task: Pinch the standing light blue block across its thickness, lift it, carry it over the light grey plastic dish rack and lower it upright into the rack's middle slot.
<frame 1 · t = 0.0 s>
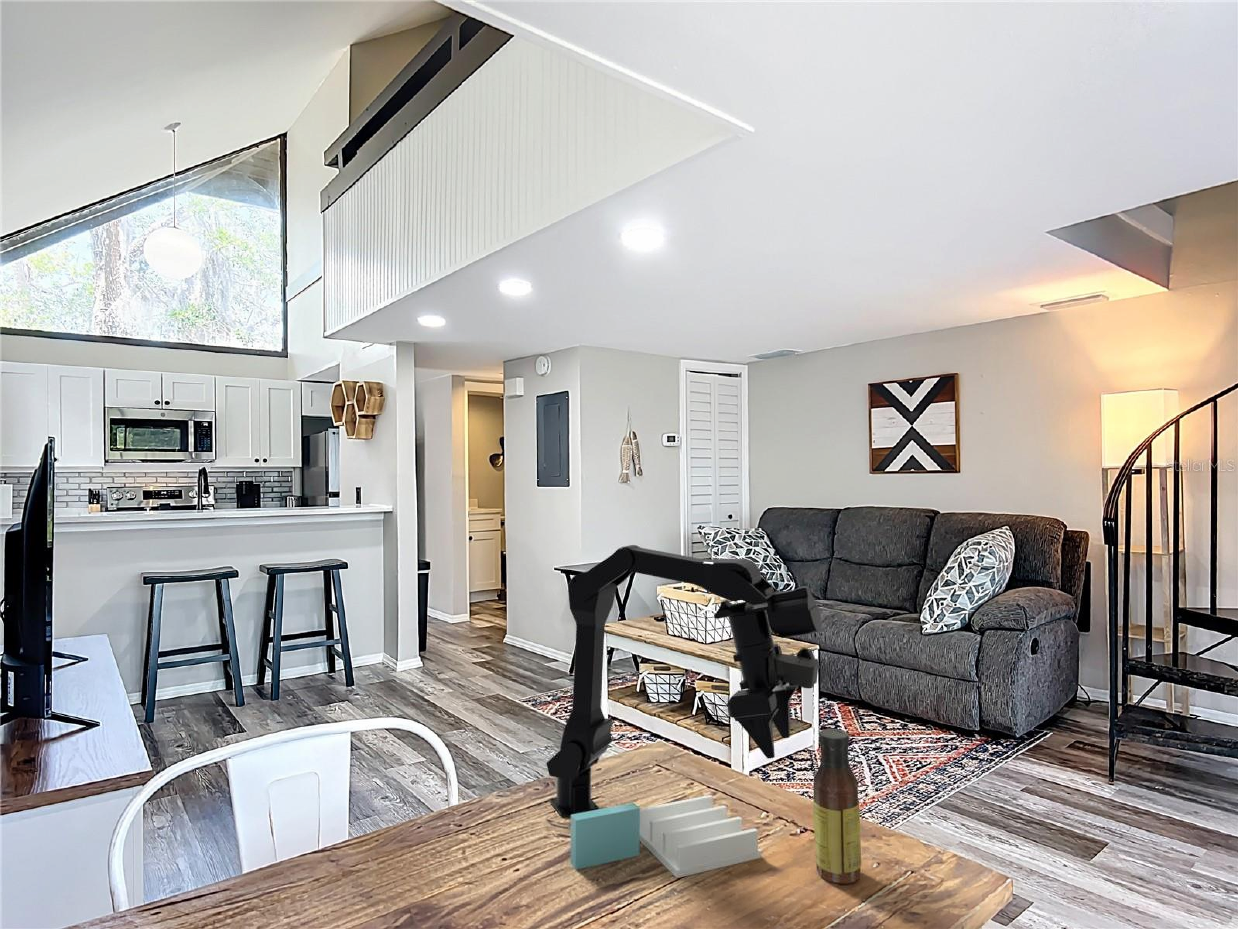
hand: (778, 747, 114), 15 cm above the table, tool pointing down, fingers open, 9 cm apart
light blue block: (605, 859, 112), on the table
dish rack: (696, 846, 116), on the table
sauce bottle: (836, 876, 108), on the table
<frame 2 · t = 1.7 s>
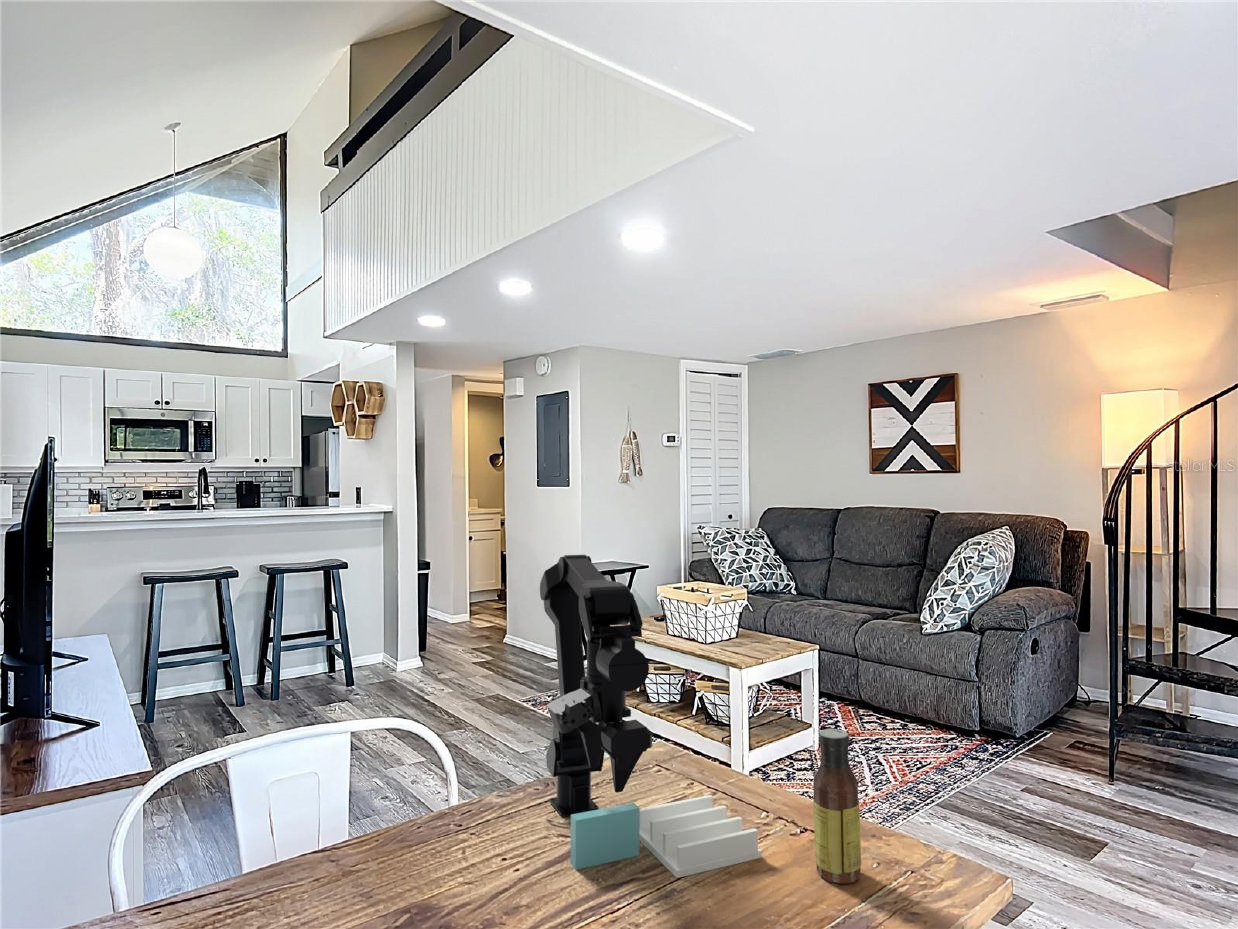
hand: (605, 779, 112), 11 cm above the table, tool pointing down, fingers open, 9 cm apart
nothing on the table moved.
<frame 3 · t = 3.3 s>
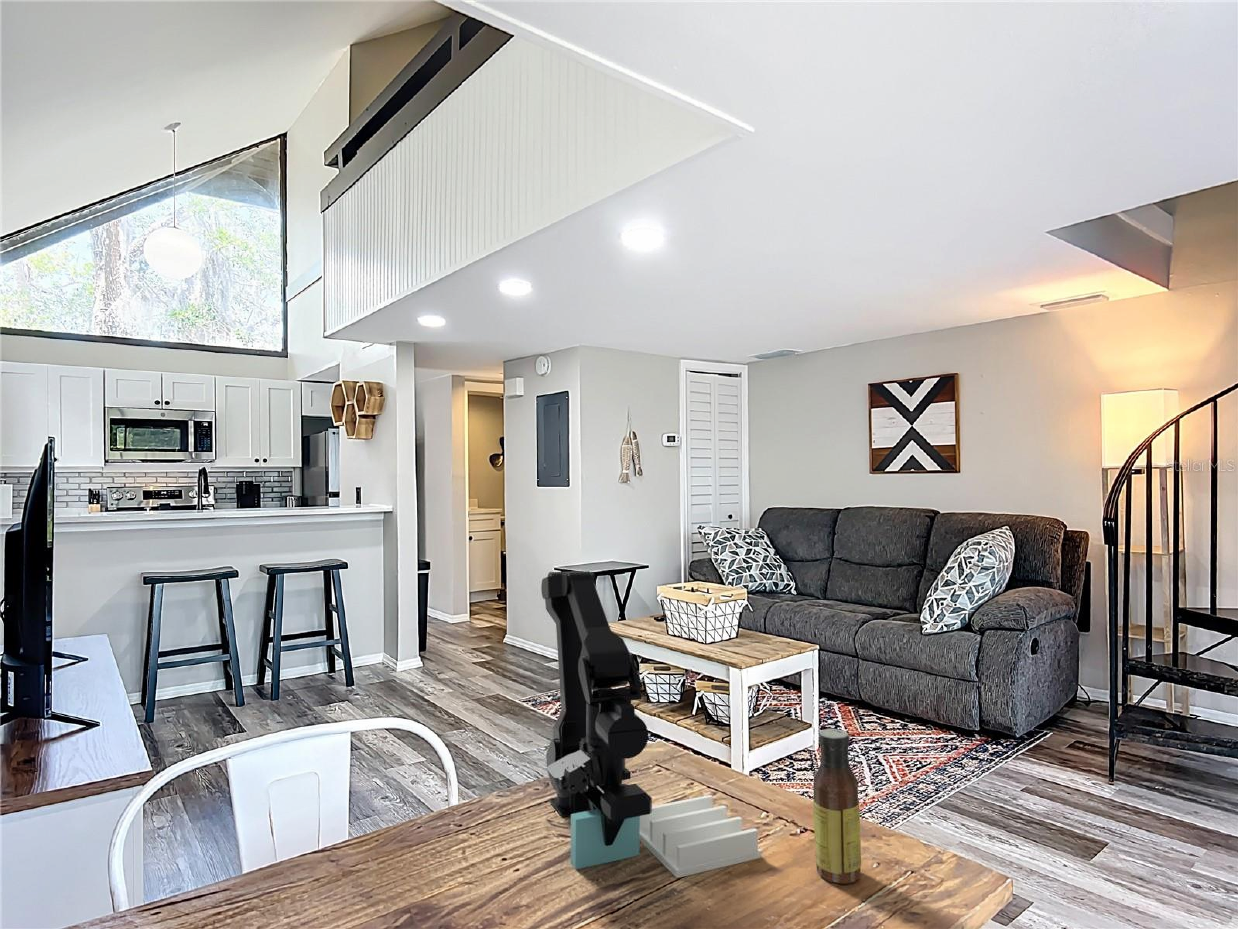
hand: (605, 841, 112), 3 cm above the table, tool pointing down, fingers closed on light blue block, 2 cm apart
light blue block: (605, 859, 112), on the table, touching gripper
everything else where it was.
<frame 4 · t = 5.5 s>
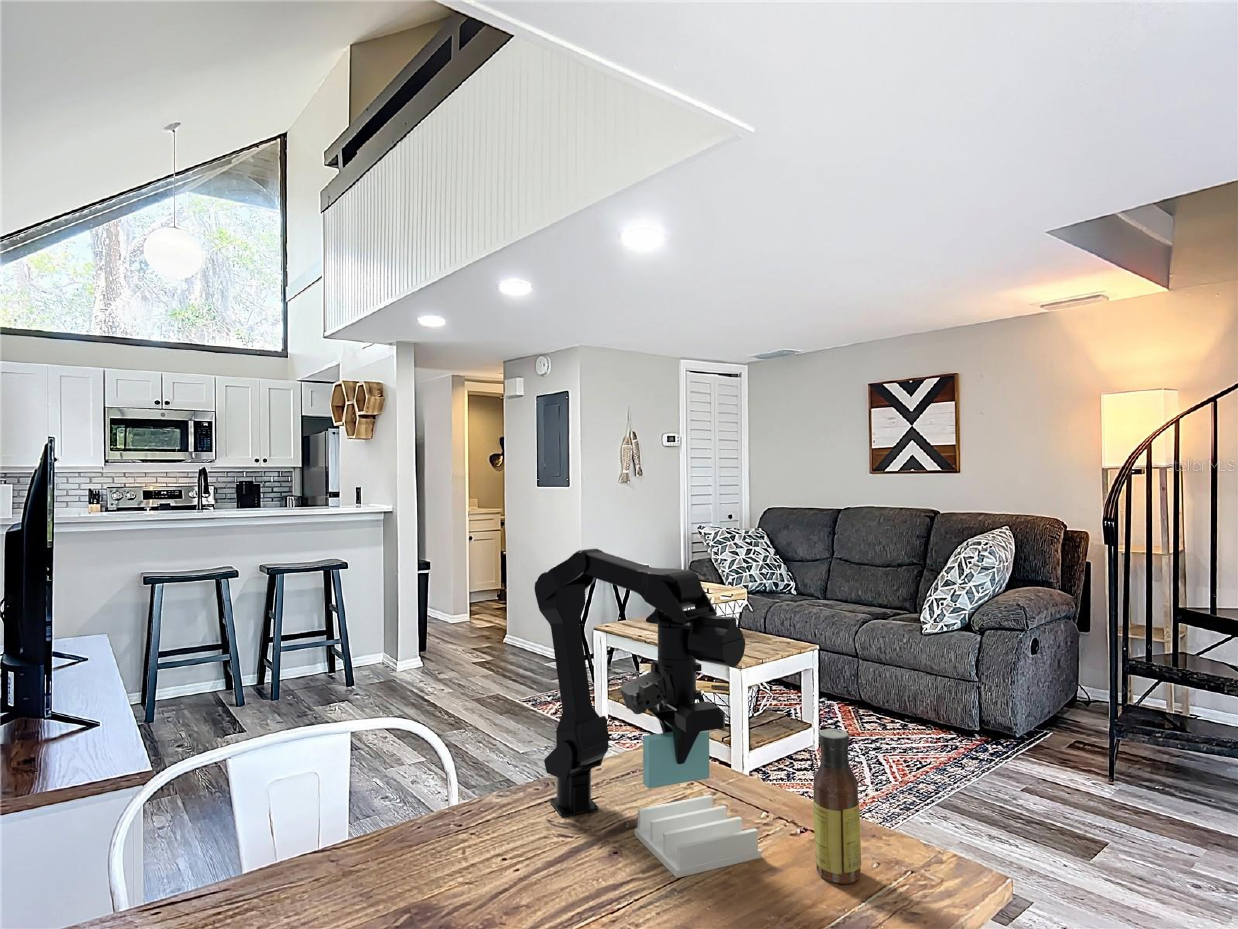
hand: (677, 761, 114), 13 cm above the table, tool pointing down, fingers closed on light blue block
light blue block: (676, 781, 114), point 10 cm above the table, touching gripper
everything else where it was.
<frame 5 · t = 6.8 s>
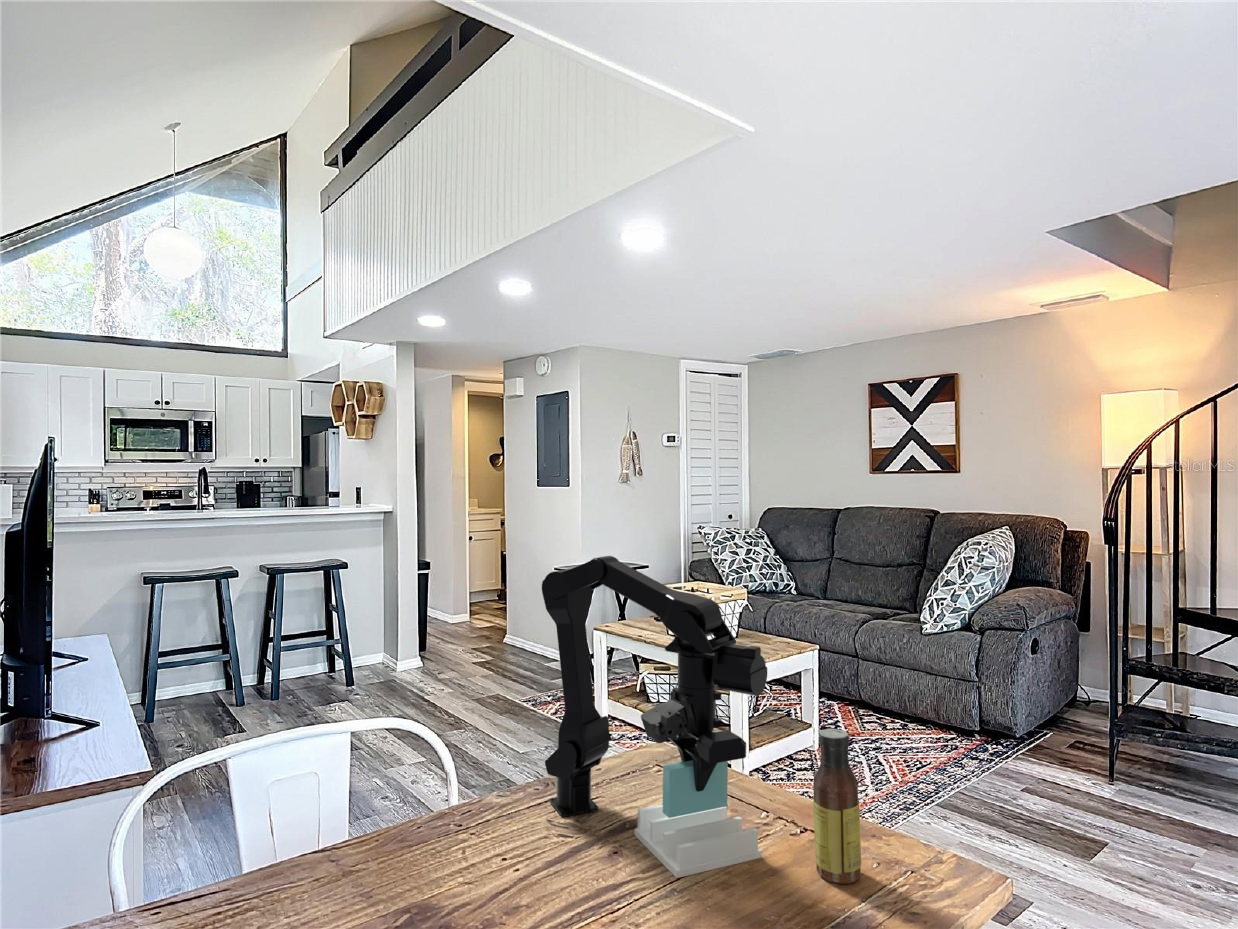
hand: (695, 787, 116), 9 cm above the table, tool pointing down, fingers closed on light blue block
light blue block: (695, 809, 116), point 6 cm above the table, touching gripper
everything else where it was.
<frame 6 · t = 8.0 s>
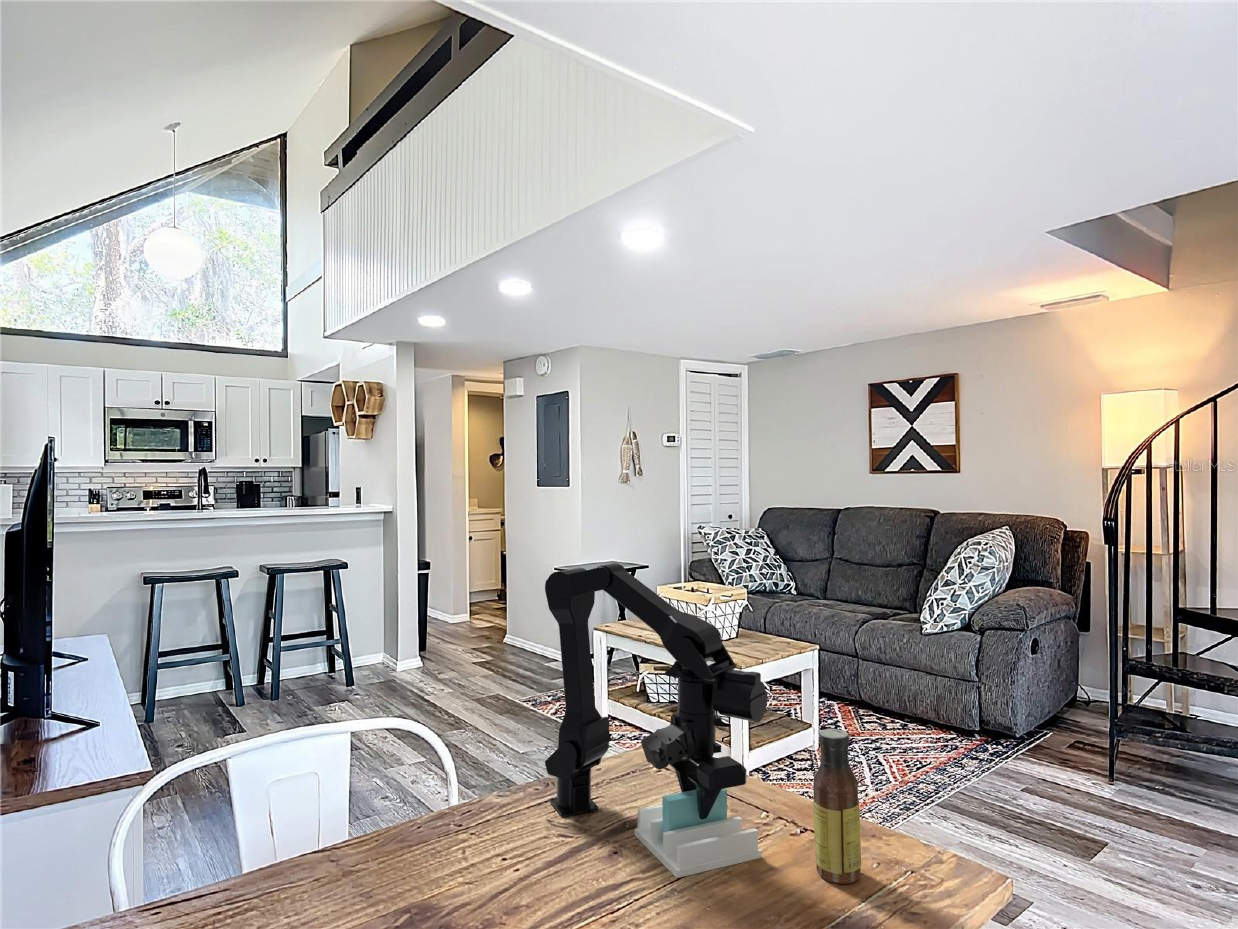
hand: (696, 813, 116), 5 cm above the table, tool pointing down, fingers open, 4 cm apart
light blue block: (694, 839, 116), point 1 cm above the table, touching dish rack
everything else where it was.
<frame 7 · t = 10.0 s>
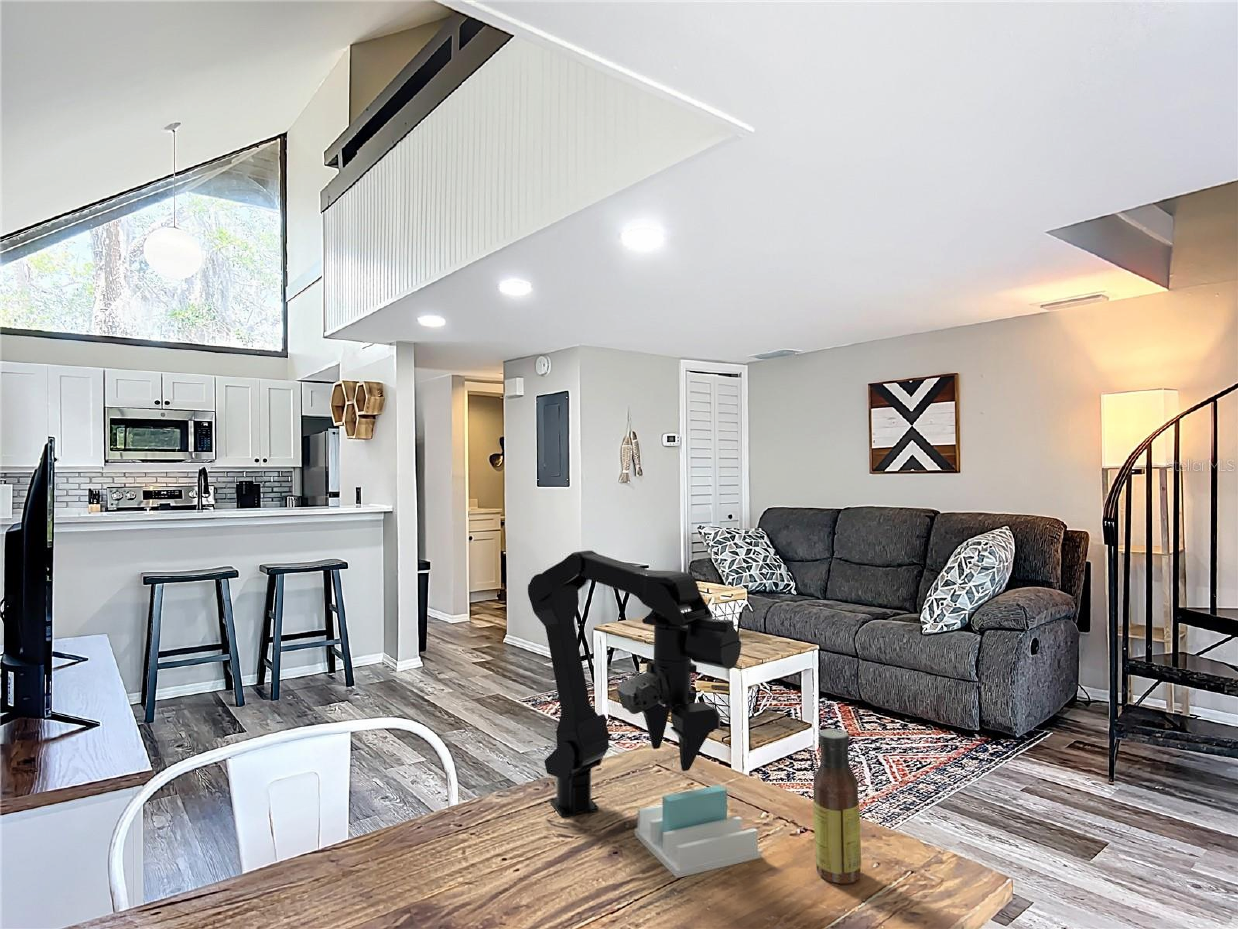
hand: (670, 759, 117), 13 cm above the table, tool pointing down, fingers open, 9 cm apart
nothing on the table moved.
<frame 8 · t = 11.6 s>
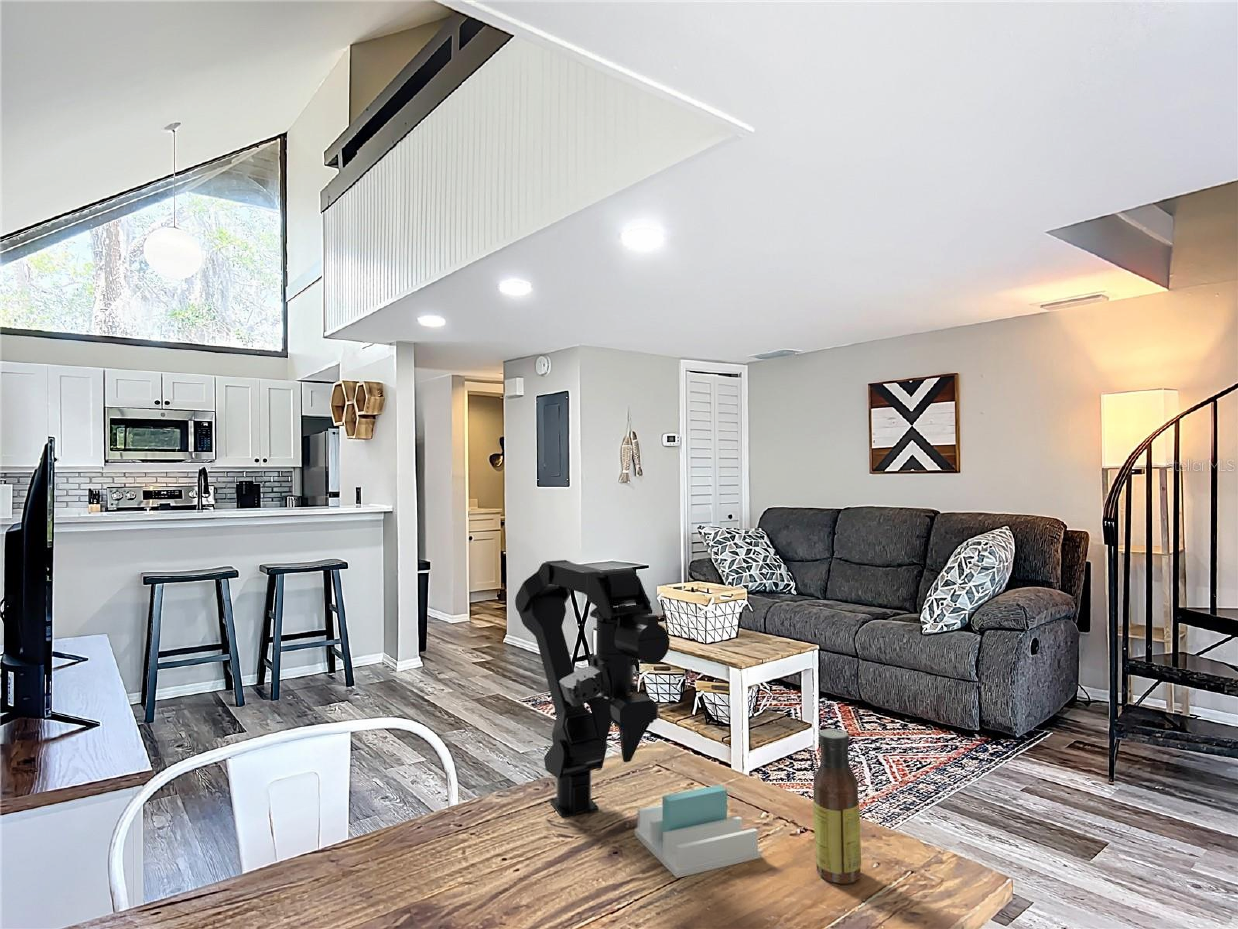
hand: (614, 751, 119), 13 cm above the table, tool pointing down, fingers open, 9 cm apart
nothing on the table moved.
at the end: light blue block inside the target area on the dish rack (0.2 cm from its centre), point 1.0 cm above the dish rack's base; light blue block tilted 0°; the gripper is holding nothing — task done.
